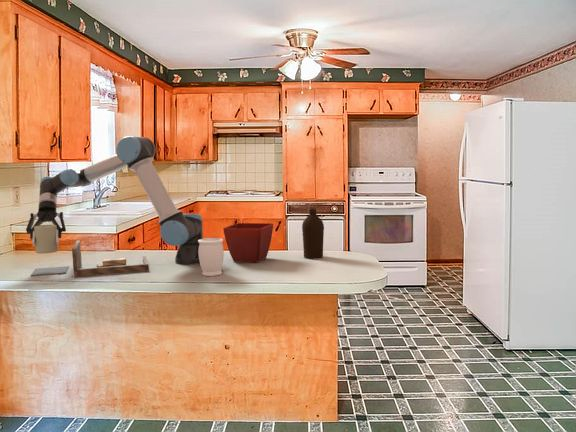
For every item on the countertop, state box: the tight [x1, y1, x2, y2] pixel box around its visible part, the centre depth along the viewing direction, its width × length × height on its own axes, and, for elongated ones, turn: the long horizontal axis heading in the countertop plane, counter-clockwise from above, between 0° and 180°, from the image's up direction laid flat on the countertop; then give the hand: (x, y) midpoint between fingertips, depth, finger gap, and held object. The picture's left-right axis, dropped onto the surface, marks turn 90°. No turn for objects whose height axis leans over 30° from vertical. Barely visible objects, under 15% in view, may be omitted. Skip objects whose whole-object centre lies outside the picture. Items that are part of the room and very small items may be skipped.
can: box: [34, 224, 59, 254], centre depth 231 cm, size 9×9×12 cm
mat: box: [30, 265, 69, 277], centre depth 232 cm, size 14×14×1 cm
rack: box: [71, 239, 150, 278], centre depth 237 cm, size 31×26×12 cm
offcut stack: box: [96, 257, 127, 268], centre depth 231 cm, size 15×5×5 cm, turn 113°
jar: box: [198, 237, 225, 277], centre depth 220 cm, size 11×10×15 cm
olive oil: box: [301, 205, 325, 260], centre depth 253 cm, size 11×11×25 cm
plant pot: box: [223, 222, 274, 263], centre depth 249 cm, size 19×19×17 cm
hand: (45, 244), depth 228 cm, fingers closed on can, 9 cm apart
